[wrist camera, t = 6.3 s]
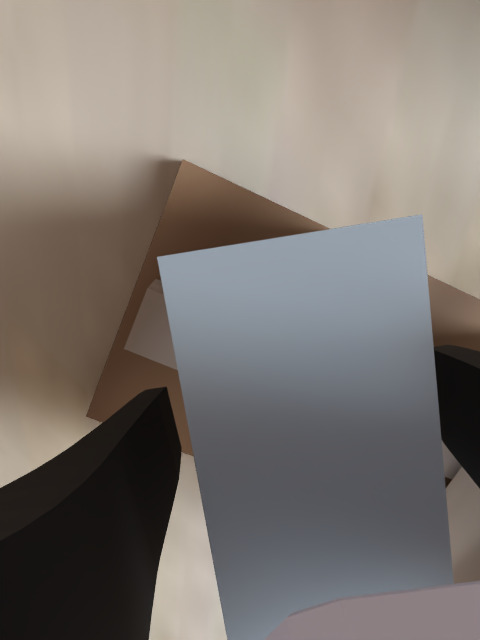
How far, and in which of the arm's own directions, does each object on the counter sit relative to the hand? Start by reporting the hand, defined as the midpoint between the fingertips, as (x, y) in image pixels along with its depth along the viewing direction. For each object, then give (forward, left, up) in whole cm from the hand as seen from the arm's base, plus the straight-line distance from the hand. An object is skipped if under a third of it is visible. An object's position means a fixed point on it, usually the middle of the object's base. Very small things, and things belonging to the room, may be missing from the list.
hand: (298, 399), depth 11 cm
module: (0, 0, -2) cm, 2 cm away
